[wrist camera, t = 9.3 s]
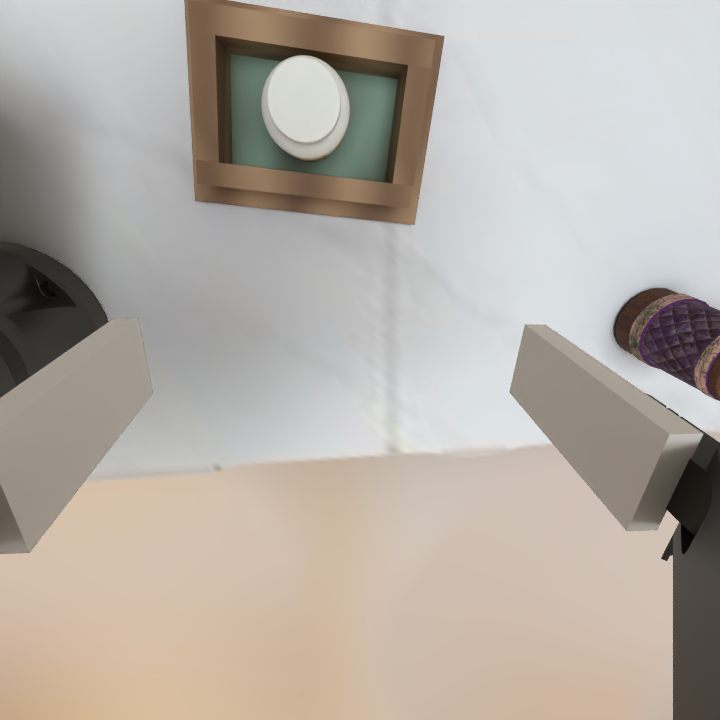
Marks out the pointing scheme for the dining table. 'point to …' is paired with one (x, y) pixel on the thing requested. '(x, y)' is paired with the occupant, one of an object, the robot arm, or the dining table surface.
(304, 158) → the supplement bottle
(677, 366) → the mug
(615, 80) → the dining table surface
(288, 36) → the walnut caddy
